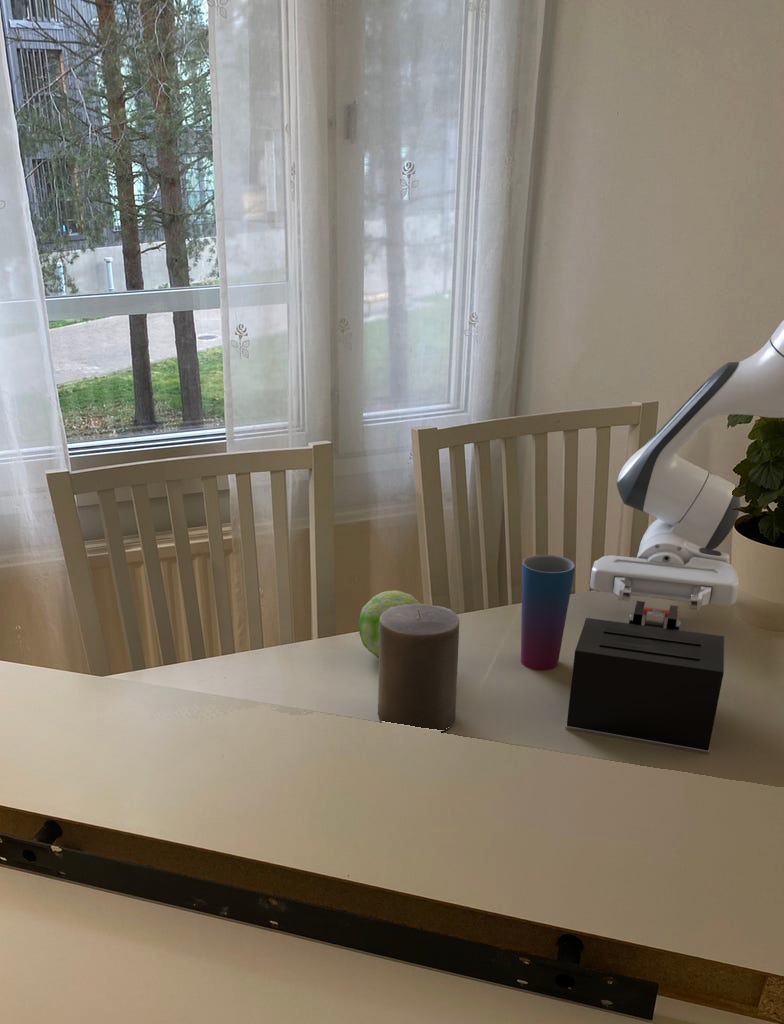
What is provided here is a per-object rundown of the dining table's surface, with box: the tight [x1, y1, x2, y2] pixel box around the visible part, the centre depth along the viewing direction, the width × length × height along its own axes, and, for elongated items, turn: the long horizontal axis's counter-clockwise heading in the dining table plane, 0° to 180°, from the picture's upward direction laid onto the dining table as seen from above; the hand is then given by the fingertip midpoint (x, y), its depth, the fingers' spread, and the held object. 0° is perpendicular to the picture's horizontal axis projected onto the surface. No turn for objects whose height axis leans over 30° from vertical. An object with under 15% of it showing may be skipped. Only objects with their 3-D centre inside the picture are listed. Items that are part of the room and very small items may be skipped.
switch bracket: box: [628, 600, 682, 630], centre depth 117 cm, size 6×8×12 cm
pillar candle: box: [377, 603, 460, 731], centre depth 112 cm, size 10×10×15 cm
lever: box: [643, 606, 680, 628], centre depth 119 cm, size 12×6×2 cm, turn 157°
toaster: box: [564, 617, 725, 756], centre depth 110 cm, size 16×10×11 cm, turn 67°
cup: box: [520, 554, 576, 672], centre depth 124 cm, size 7×7×15 cm
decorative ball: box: [358, 590, 421, 658], centre depth 128 cm, size 10×10×10 cm
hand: (659, 600), depth 128 cm, fingers open, 8 cm apart
